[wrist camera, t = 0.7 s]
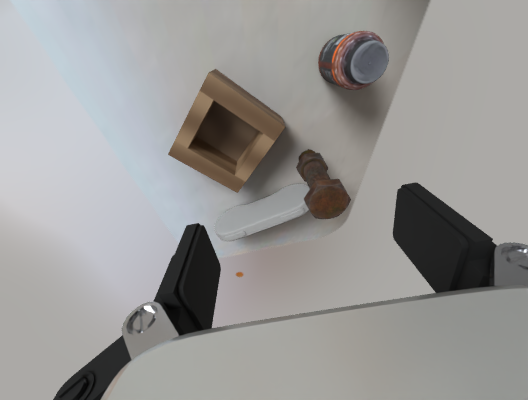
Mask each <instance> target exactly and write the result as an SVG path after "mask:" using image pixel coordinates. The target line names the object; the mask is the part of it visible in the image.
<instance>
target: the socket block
mask: <svg viewBox="0 0 528 400" xmlns="http://www.w3.org/2000/svg"><path fill="white" fill-rule="evenodd" d="M284 128H285V125H284V122H283V120H282V117H281V116H280V115H278V114H277V113H276V112H274V111H273V110H271V109H270V108H269V107H267V106H266V105H265V104H263V103H262V102H260V101H259V100H258V99H256V98H255V97H254V96H252V95H251V94H249V93H248V92H247V91H245V90H244V89H243V88H241V87H240V86H238V85H237V84H236V83H234V82H233V81H232V80H230V79H229V78H227V77H226V76H225V75H223V74H222V73H221V72H219V71H218V70H216V69H215V70H213V71H211V72H209V73H208V75H207V77H206V79H205V81H204V83H203V85H202V87H201V89H200V91H199V93H198V95H197V97H196V99H195V101H194V103H193V105H192V107H191V109H190V111H189V113H188V115H187V117H186V119H185V121H184V123H183V125H182V127H181V129H180V131H179V133H178V135H177V137H176V139H175V141H174V143H173V145H172V147H171V149H170V152H169V154H168V155H170V156H172V157H173V158H175V159H177V160H179V161H181V162H183V163H184V164H186V165H188V166H190V167H192V168H193V169H195V170H197V171H199V172H201V173H202V174H204V175H206V176H208V177H210V178H211V179H213V180H215V181H217V182H219V183H221V184H222V185H224V186H226V187H228V188H230V189H231V190H233V191H235V192H237V193H238V192H239V190H240V189H241V187H242V186H243V185H244V183H245V182H246V181H247V179H248V178H249V176H250V175H251V174H252V172H253V171H254V170H255V168H256V167H257V165H258V164H259V163H260V161H261V160H262V158H263V157H264V156H265V154H266V153H267V152H268V150H269V149H270V147H271V146H272V145H273V143H274V142H275V141H276V139H277V138H278V136H279V135H280V134H281V132H282V131H283V130H284Z"/></svg>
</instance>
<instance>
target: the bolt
mask: <svg viewBox="0 0 528 400" xmlns="http://www.w3.org/2000/svg"><path fill="white" fill-rule="evenodd" d="M296 168H297V170H298V172H299V174H300V175H301V177H302V178H303V180H304V181H306V182H307V184H308V186H309V189H310V190H309V191H308V193H307V194H306V196H305V197H304V201H305V204H306V205H307V207H308V209H309V210H310V212H311V213H312V214H313V216H314V217H315V218H319V219H331V218H334V217H337V216H339V215H340V214H341V213H343V212H344V210H345V209H346V208H347V206H348V205H349V203H350V200H351V199H350V197H349V195H348V194H347V192H346V190H345V188H344V186H343V185H342V183H341V182H340V180H339V179H332V180H331V179H330V178H329V176H328V174H327V170H328V167H327V165H326V163H325V161H324V160H323V158H322V156H321V155H320V153H315V152H314V151H313V150H309V149H308V150H307V151H304V152H303V153H302V154H301V155H300V156H299V163H298V165H297V167H296Z"/></svg>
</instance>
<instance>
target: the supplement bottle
mask: <svg viewBox="0 0 528 400" xmlns="http://www.w3.org/2000/svg"><path fill="white" fill-rule="evenodd" d="M388 61H389V54H388V50H387V48H386V46H385V45H384V43H383V41H382V40H381V38H380V37H379V36H378V35H376V34H375V33H373V32H370V31H358V32H354V33H349V34H344V35H339V36H336V37H334V38H332V39H330V40H329V41H328V42H327V43H326V44H325V45H324V47H323V48H322V50H321V52H320V55H319V62H318V64H319V71H320V73H321V75H322V76H323V78H324V79H326V80H327V81H328V82H330V83H333V84H336V85H338V86H341V87H343V88H346V89H350V90H358V89H362V88H365V87H367V86H369V85H370V84H371V83H373V82H374V81H376V80H377V79H378V78H379V77H381V75H382V74H383V73H384V71H385V70H386V67H387V65H388Z"/></svg>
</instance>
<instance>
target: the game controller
mask: <svg viewBox="0 0 528 400" xmlns="http://www.w3.org/2000/svg"><path fill="white" fill-rule="evenodd" d="M309 190H310V189H309V186H307V185H305V184H292V185H289V186H286V187H284V188H282V189H280V190H279V191H277V192H276V193H275V194H272V195H270V196H268V197H265V198H262V199H260V200H257V201H255V202H252V203H250V204H247V205H239V206H236V207H233V208H231V209H229V210H227V211H226V212H225V213H223V214H222V215H221V216H220V217H219V218H218V220H217V221H216V223H215V226H214V230H215V232H216V234H217V235H218V237H219V238H220V239H221V240H223V241H234V240H237V239H240V238H243V237H245V236H248V235H251V234H254V233H257V232H259V231H262V230H265V229H268V228H270V227H273V226H276V225H279V224H281V223H284V222H287V221H289V220H292V219H295V218H297V217H300V216H302V215H303V214H305V213H306V212H307V211H308V210H309V209H308V207H307V205H306V204H305V201H304V197H305V196H306V194H307V193H308V191H309Z"/></svg>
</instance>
